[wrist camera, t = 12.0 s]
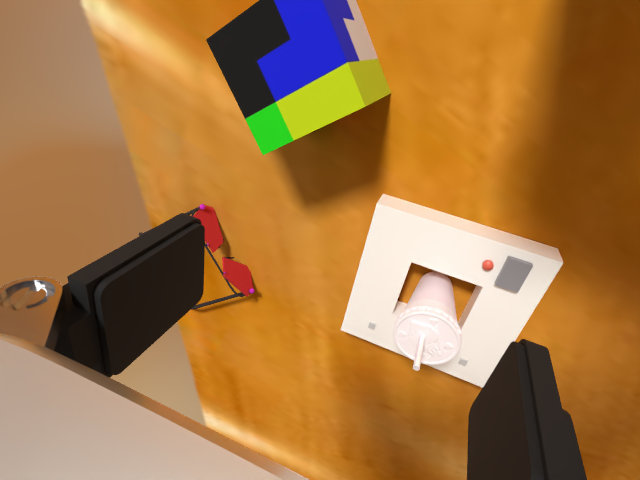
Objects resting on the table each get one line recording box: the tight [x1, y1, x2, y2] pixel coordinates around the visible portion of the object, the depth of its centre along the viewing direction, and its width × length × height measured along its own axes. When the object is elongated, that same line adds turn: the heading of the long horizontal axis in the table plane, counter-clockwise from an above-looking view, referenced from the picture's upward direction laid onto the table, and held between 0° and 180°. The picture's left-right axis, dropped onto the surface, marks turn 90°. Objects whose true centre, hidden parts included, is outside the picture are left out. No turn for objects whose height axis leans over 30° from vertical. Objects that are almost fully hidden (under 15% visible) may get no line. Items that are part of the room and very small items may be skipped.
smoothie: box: [393, 272, 462, 371], centre depth 38 cm, size 6×6×14 cm
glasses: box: [139, 204, 255, 309], centre depth 54 cm, size 14×16×5 cm
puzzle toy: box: [206, 0, 391, 155], centre depth 33 cm, size 10×10×10 cm
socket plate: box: [341, 194, 563, 388], centre depth 42 cm, size 18×18×4 cm
